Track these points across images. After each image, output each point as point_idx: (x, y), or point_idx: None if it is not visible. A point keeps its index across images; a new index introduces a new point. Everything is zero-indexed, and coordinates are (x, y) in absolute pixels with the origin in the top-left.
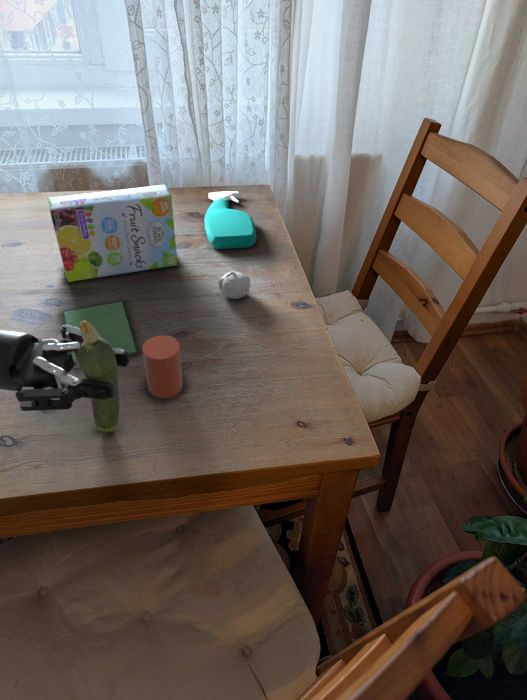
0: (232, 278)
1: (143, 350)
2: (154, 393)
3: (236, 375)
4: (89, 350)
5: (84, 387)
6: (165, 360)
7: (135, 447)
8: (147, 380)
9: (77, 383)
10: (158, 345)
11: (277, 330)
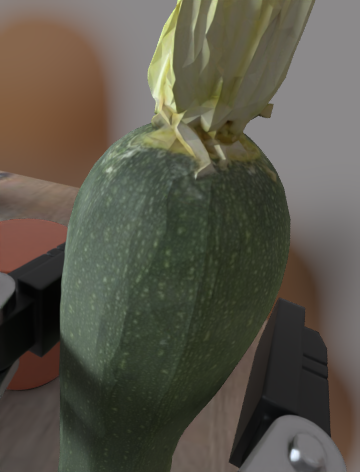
0: None
1: (8, 269)
2: (49, 373)
3: None
4: (271, 169)
5: (311, 411)
6: None
7: (202, 469)
8: (20, 361)
9: (316, 433)
10: (15, 243)
11: (23, 202)
